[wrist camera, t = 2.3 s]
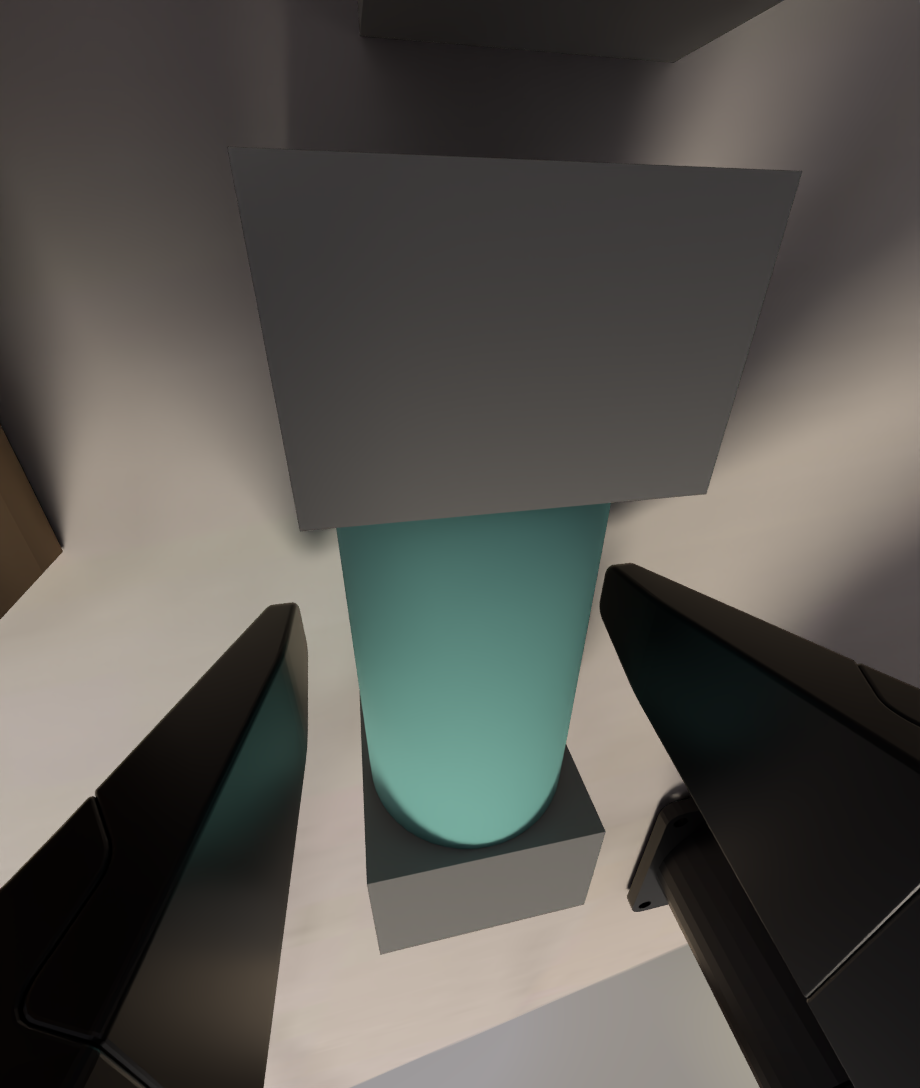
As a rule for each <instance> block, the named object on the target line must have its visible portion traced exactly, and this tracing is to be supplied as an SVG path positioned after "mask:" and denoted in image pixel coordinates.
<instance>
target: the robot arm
mask: <svg viewBox="0 0 920 1088" xmlns="http://www.w3.org/2000/svg"><path fill="white" fill-rule="evenodd" d="M600 614H601V617H602V620H603V622H604V624H605V627H606V629H607V631H608V634H609V636H610V639H611V641H612V643H613V646H614V648H615V650H616V653H617V655H618V657H619V660H620V662H621V664H622V667H623V669H624V671H625V674H626V676H627V678H628V681H629V683H630V685H631V687H632V689H633V691H634V693H635V695H636V697H637V699H638V701H639V703H640V705H641V706H642V708H643V710H644V712H645V714H646V715H647V717H648V719H649V721H650V722H651V724H652V726H653V728H654V730H655V731H656V733H657V735H658V737H659V739H660V740H661V742H662V744H663V746H664V747H665V749H666V751H667V753H668V755H669V756H670V758H671V760H672V762H673V763H674V765H675V767H676V769H677V771H678V772H679V774H680V776H681V778H682V780H683V781H684V783H685V785H686V787H687V788H688V790H689V792H690V794H691V796H692V797H693V798H690V799H685V800H680V801H676V802H673V803H671V804H669V805H667V806H666V807H664V808H663V809H662V810H661V812H660V813H659V816H658V818H657V821H656V823H655V826H654V828H653V831H652V834H651V836H650V839H649V841H648V844H647V846H646V849H645V852H644V854H643V857H642V859H641V862H640V864H639V867H638V870H637V872H636V875H635V877H634V880H633V882H632V885H631V888H630V890H629V893H628V895H627V899H628V901H629V904H630V906H631V908H632V910H633V911H634V912H640V911H645V910H649V909H653V908H656V907H660V906H664V905H668V904H669V906H670V908H671V910H672V912H673V914H674V916H675V918H676V920H677V922H678V924H679V926H680V928H681V930H682V932H683V934H684V936H685V938H686V940H687V942H688V944H689V946H690V948H691V950H692V952H693V954H694V956H695V958H696V960H697V962H698V964H699V966H700V968H701V970H702V972H703V974H704V976H705V978H706V980H707V982H708V984H709V986H710V988H711V990H712V992H713V995H714V997H715V998H716V1000H717V1002H718V1005H719V1006H720V1008H721V1011H722V1012H723V1015H724V1017H725V1019H726V1021H727V1023H728V1024H729V1027H730V1029H731V1031H732V1032H733V1034H734V1037H735V1039H736V1041H737V1043H738V1045H739V1047H740V1049H741V1051H742V1053H743V1055H744V1057H745V1058H746V1061H747V1063H748V1065H749V1067H750V1069H751V1071H752V1073H753V1075H754V1077H755V1079H756V1081H757V1083H758V1085H759V1087H760V1088H920V689H919V688H916V687H914V686H912V685H909V684H907V683H905V682H902V681H900V680H898V679H895V678H893V677H891V676H888V675H886V674H884V673H882V672H879V671H877V670H875V669H873V668H870V667H868V666H866V665H864V664H856V662H855V661H854V660H852V659H850V658H847V657H845V656H843V655H840V654H838V653H836V652H834V651H831V650H829V649H827V648H825V647H822V646H820V645H818V644H815V643H813V642H811V641H809V640H806V639H804V638H802V637H799V636H797V635H795V634H793V633H790V632H788V631H786V630H784V629H781V628H779V627H777V626H774V625H772V624H770V623H768V622H765V621H763V620H761V619H759V618H756V617H754V616H752V615H749V614H747V613H745V612H743V611H740V610H738V609H736V608H734V607H731V606H729V605H727V604H724V603H722V602H720V601H718V600H715V599H713V598H711V597H709V596H706V595H704V594H702V593H699V592H697V591H695V590H693V589H690V588H688V587H686V586H684V585H681V584H679V583H677V582H674V581H672V580H670V579H668V578H665V577H663V576H661V575H659V574H656V573H654V572H652V571H649V570H647V569H645V568H643V567H640V566H638V565H636V564H633V563H625V564H617V565H611V566H610V567H608V569H607V570H606V573H605V578H604V583H603V588H602V593H601V598H600ZM307 737H308V649H307V642H306V637H305V632H304V628H303V623H302V618H301V614H300V609H299V606H298V605H297V604H296V603H293V602H292V603H284V604H275V605H270V606H269V607H267V608H266V609H265V610H264V611H263V612H262V613H261V614H260V616H259V617H258V618H257V619H256V620H255V621H254V622H253V623H252V624H251V625H250V626H249V627H248V628H247V629H246V630H245V632H244V633H243V634H242V635H241V636H240V637H239V638H238V639H237V640H236V641H235V642H234V643H233V644H232V645H231V646H230V648H229V649H228V650H227V651H226V652H225V653H224V654H223V655H222V656H221V657H220V658H219V659H218V660H217V661H216V662H215V664H214V665H213V666H212V667H211V668H210V669H209V670H208V671H207V672H206V673H205V674H204V675H203V676H202V677H201V678H200V679H199V681H198V682H197V683H196V684H195V685H194V686H193V687H192V688H191V689H190V690H189V691H188V692H187V693H186V694H185V695H184V697H183V698H182V699H181V700H180V701H179V702H178V703H177V704H176V705H175V706H174V707H173V708H172V709H171V710H170V711H169V713H168V714H167V715H166V716H165V717H164V718H163V719H162V720H161V721H160V722H159V723H158V724H157V725H156V726H155V727H154V729H153V730H152V731H151V732H150V733H149V734H148V735H147V736H146V737H145V738H144V739H143V740H142V741H141V742H140V743H139V745H138V746H137V747H136V748H135V749H134V750H133V751H132V752H131V753H130V754H129V755H128V756H127V757H126V758H125V759H124V761H123V762H122V763H121V764H120V765H119V766H118V767H117V768H116V769H115V770H114V771H113V772H112V773H111V774H110V775H109V777H108V778H107V779H106V780H105V781H104V782H103V783H102V784H101V785H100V786H99V787H98V788H97V789H96V791H95V796H96V797H94V796H92V797H89V798H88V799H87V800H86V801H85V802H84V803H83V804H82V805H81V806H80V807H79V808H78V809H77V810H76V811H75V812H74V813H73V815H72V816H71V817H70V818H69V819H68V820H67V821H66V822H65V823H64V824H63V825H62V826H61V827H60V828H59V829H58V830H57V831H56V832H55V834H54V835H53V836H52V837H51V838H50V839H49V840H48V841H47V842H46V843H45V844H44V845H43V846H42V847H41V848H40V849H39V850H38V851H37V852H36V853H35V854H34V855H33V856H32V857H31V858H30V859H29V860H28V861H27V862H26V863H25V864H24V865H23V866H22V867H21V868H20V869H19V870H18V872H17V873H16V874H15V875H14V876H13V877H12V878H11V879H10V880H9V881H8V882H7V883H6V884H5V885H4V886H2V887H1V888H0V1088H263V1087H264V1080H265V1072H266V1064H267V1057H268V1049H269V1041H270V1033H271V1026H272V1018H273V1010H274V1003H275V995H276V987H277V979H278V972H279V964H280V956H281V949H282V941H283V933H284V925H285V918H286V910H287V902H288V894H289V887H290V879H291V871H292V864H293V856H294V848H295V840H296V833H297V825H298V817H299V810H300V802H301V794H302V786H303V779H304V771H305V763H306V753H307Z"/></svg>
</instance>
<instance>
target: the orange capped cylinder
mask: <svg viewBox="0 0 920 1088" xmlns="http://www.w3.org/2000/svg"><path fill="white" fill-rule="evenodd" d="M782 1H784V0H358V13H359V27H360V36H366V37H378V38H390V39H402V40H414V41H425V42H437V43H449V44H461V45H473V46H485V47H496V48H508V49H520V50H532V51H544V52H555V53H567V54H579V55H591V56H603V57H615V58H626V59H638V60H650V61H662V62H675V61H677V60H679V59H681V58H682V57H684V56H686V55H688V54H690V53H691V52H693V51H695V50H697V49H698V48H700V47H702V46H704V45H706V44H707V43H709V42H711V41H713V40H714V39H716V38H718V37H720V36H721V35H723V34H725V33H727V32H729V31H730V30H732V29H734V28H736V27H737V26H739V25H741V24H743V23H745V22H746V21H748V20H750V19H752V18H753V17H755V16H757V15H759V14H761V13H762V12H764V11H766V10H768V9H769V8H771V7H773V6H775V5H776V4H778V3H780V2H782Z"/></svg>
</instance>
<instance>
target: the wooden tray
mask: <svg viewBox="0 0 920 1088" xmlns="http://www.w3.org/2000/svg"><path fill="white" fill-rule="evenodd" d="M62 552H63V551H62V549H61V546H60V544H59V542H58V540H57V538H56V536H55V534H54V532H53V530H52V528H51V526H50V524H49V522H48V520H47V518H46V516H45V514H44V512H43V510H42V508H41V506H40V504H39V502H38V500H37V498H36V496H35V494H34V492H33V490H32V488H31V486H30V484H29V482H28V480H27V478H26V476H25V474H24V472H23V470H22V468H21V466H20V464H19V462H18V460H17V458H16V455H15V453H14V451H13V449H12V447H11V445H10V443H9V441H8V439H7V437H6V435H5V433H4V431H3V429H2V427H1V425H0V619H1V618H2V617H3V616H4V615H5V614H6V613H7V612H8V610H9V609H10V608H11V607H12V606H13V605H14V604H15V603H16V602H17V601H18V600H19V599H20V597H21V596H22V595H23V594H24V593H25V592H26V591H27V590H28V589H29V588H30V587H31V586H32V584H33V583H34V582H35V581H36V580H37V579H38V578H39V577H40V576H41V575H42V574H43V573H44V571H45V570H46V569H47V568H48V567H49V566H50V565H51V564H52V563H53V562H54V561H55V560H56V558H57V557H58V556H59V555H60V554H61V553H62Z"/></svg>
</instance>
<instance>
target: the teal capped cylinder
mask: <svg viewBox="0 0 920 1088" xmlns="http://www.w3.org/2000/svg"><path fill="white" fill-rule="evenodd" d="M227 149H228V154H229V159H230V165H231V170H232V175H233V180H234V186H235V191H236V196H237V202H238V207H239V212H240V217H241V223H242V228H243V233H244V238H245V244H246V249H247V254H248V260H249V265H250V270H251V275H252V281H253V286H254V291H255V296H256V302H257V307H258V312H259V318H260V323H261V328H262V333H263V339H264V344H265V349H266V354H267V360H268V365H269V370H270V376H271V381H272V386H273V391H274V397H275V402H276V407H277V412H278V418H279V423H280V428H281V434H282V439H283V444H284V449H285V455H286V460H287V465H288V470H289V476H290V481H291V486H292V492H293V497H294V502H295V507H296V513H297V518H298V523H299V528H300V531H308V530H319V529H330V528H336V529H337V536H338V543H339V550H340V557H341V564H342V571H343V578H344V585H345V592H346V599H347V606H348V613H349V620H350V626H351V633H352V640H353V647H354V654H355V661H356V668H357V675H358V682H359V689H360V715H361V741H362V767H363V793H364V819H365V845H366V871H367V887H368V892H369V898H370V903H371V908H372V913H373V919H374V924H375V929H376V935H377V940H378V945H379V950H380V955H381V954H385V953H389V952H393V951H397V950H401V949H405V948H410V947H414V946H418V945H422V944H426V943H430V942H434V941H438V940H442V939H446V938H450V937H454V936H458V935H462V934H466V933H470V932H474V931H478V930H482V929H486V928H490V927H494V926H499V925H503V924H507V923H511V922H515V921H519V920H523V919H527V918H531V917H535V916H539V915H543V914H547V913H551V912H555V911H559V910H563V909H567V908H571V907H575V906H579V905H583V904H584V903H585V899H586V896H587V892H588V889H589V886H590V882H591V879H592V876H593V872H594V869H595V866H596V862H597V859H598V856H599V852H600V849H601V845H602V842H603V839H604V835H605V829H604V827H603V825H602V823H601V821H600V818H599V816H598V814H597V812H596V809H595V807H594V805H593V803H592V801H591V798H590V796H589V794H588V792H587V789H586V787H585V785H584V783H583V781H582V778H581V776H580V774H579V772H578V770H577V767H576V765H575V763H574V761H573V758H572V756H571V754H570V752H569V750H568V747H567V745H566V740H567V735H568V729H569V724H570V719H571V713H572V708H573V703H574V697H575V692H576V687H577V681H578V676H579V671H580V665H581V660H582V655H583V649H584V644H585V639H586V633H587V628H588V623H589V617H590V612H591V607H592V601H593V596H594V591H595V585H596V580H597V575H598V569H599V564H600V559H601V553H602V548H603V543H604V537H605V532H606V527H607V521H608V516H609V511H610V505H611V503H615V502H626V501H636V500H647V499H658V498H669V497H680V496H691V495H702V494H706V493H707V490H708V486H709V483H710V479H711V476H712V473H713V469H714V466H715V463H716V459H717V456H718V453H719V449H720V446H721V443H722V439H723V436H724V432H725V429H726V426H727V422H728V419H729V416H730V412H731V409H732V406H733V402H734V399H735V396H736V392H737V389H738V385H739V382H740V379H741V375H742V372H743V369H744V365H745V362H746V359H747V355H748V352H749V349H750V345H751V342H752V338H753V335H754V332H755V328H756V325H757V322H758V318H759V315H760V312H761V308H762V305H763V302H764V298H765V295H766V291H767V288H768V285H769V281H770V278H771V275H772V271H773V268H774V265H775V261H776V258H777V255H778V251H779V248H780V244H781V241H782V238H783V234H784V231H785V228H786V224H787V221H788V218H789V214H790V211H791V207H792V204H793V201H794V197H795V194H796V191H797V187H798V184H799V181H800V177H801V174H802V171H786V170H763V169H739V168H716V167H692V166H669V165H645V164H622V163H598V162H575V161H551V160H528V159H504V158H481V157H457V156H434V155H410V154H387V153H363V152H340V151H316V150H293V149H270V148H246V147H227Z"/></svg>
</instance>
